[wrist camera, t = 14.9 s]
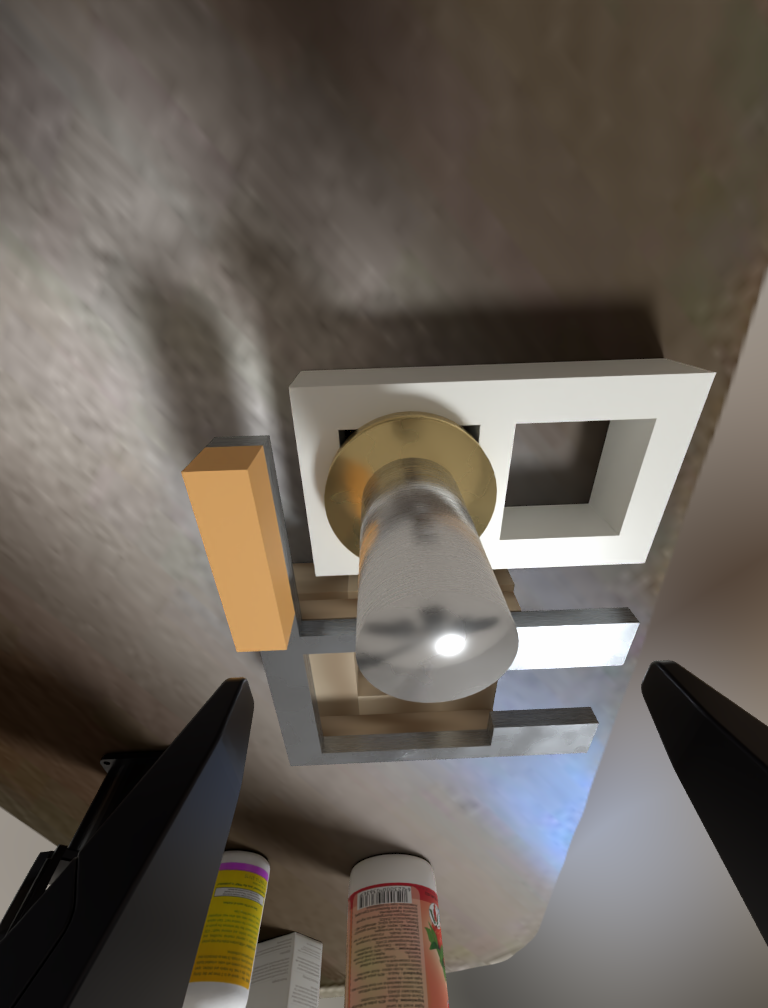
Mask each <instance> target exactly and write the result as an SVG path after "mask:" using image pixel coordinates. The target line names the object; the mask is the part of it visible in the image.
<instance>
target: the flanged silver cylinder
mask: <svg viewBox="0 0 768 1008" xmlns="http://www.w3.org/2000/svg"><path fill="white" fill-rule="evenodd" d="M496 500H497V484H496V478H495V474H494V470H493V468H492V465H491V463H490V461H489V459H488V457H487V456H486V454H485V453H484V451H483V449H482V448H481V446H480V445H479V443H478V442H477V441H476V439H475V438H474V437H473V436H472V435H471V434H470V433H469V432H468V431H467V430H465V429H464V428H463V427H462V426H460V425H459V424H457V423H455V422H454V421H452V420H450V419H447V418H445V417H443V416H439V415H436V414H433V413H427V412H419V411H406V412H397V413H392V414H388V415H384V416H382V417H379V418H376V419H374V420H372V421H370V422H368V423H366V424H364V425H363V426H362V427H360V428H359V429H357V430H356V431H355V432H354V433H352V434H351V435H350V436H349V437H348V438H347V439H346V440H345V442H344V443H343V444H342V445H341V446H340V448H339V449H338V451H337V453H336V454H335V456H334V458H333V461H332V463H331V465H330V469H329V473H328V477H327V481H326V486H325V494H324V502H325V510H326V516H327V519H328V521H329V524H330V526H331V528H332V530H333V532H334V534H335V535H336V537H337V538H338V539H339V541H340V542H341V543H342V544H343V545H344V546H345V547H346V548H347V549H348V550H349V551H350V552H352V553H353V554H354V555H356V556H357V557H359V577H358V601H357V625H356V661H357V664H358V667H359V669H360V671H361V673H362V674H363V676H364V677H365V678H366V679H367V681H368V682H370V683H371V684H372V685H373V686H374V687H376V688H377V689H379V690H380V691H382V692H384V693H386V694H388V695H390V696H393V697H396V698H399V699H403V700H407V701H413V702H422V703H436V702H446V701H452V700H456V699H460V698H464V697H467V696H470V695H473V694H475V693H477V692H479V691H481V690H483V689H485V688H487V687H489V686H490V685H491V684H493V683H494V682H496V681H497V680H498V679H499V678H500V677H502V676H503V675H504V674H505V672H506V671H507V670H508V669H509V668H510V666H511V665H512V663H513V661H514V659H515V657H516V655H517V651H518V646H519V635H518V631H517V627H516V625H515V622H514V620H513V618H512V615H511V613H510V610H509V608H508V606H507V603H506V601H505V598H504V596H503V593H502V591H501V589H500V586H499V584H498V581H497V579H496V577H495V574H494V572H493V569H492V567H491V565H490V562H489V560H488V557H487V555H486V552H485V550H484V548H483V545H482V543H481V540H480V538H479V537H480V536H481V535H482V534H483V532H484V531H485V529H486V528H487V526H488V524H489V522H490V520H491V518H492V515H493V512H494V510H495V505H496Z"/></svg>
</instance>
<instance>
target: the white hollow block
mask: <svg viewBox="0 0 768 1008" xmlns="http://www.w3.org/2000/svg"><path fill="white" fill-rule="evenodd" d="M715 374H716V372H712V371H709V370H705V369H701V368H698V367H694V366H691V365H687V364H683V363H680V362H676V361H673V360H669V359H666V358H658V359H629V360H601V361H572V362H543V363H514V364H485V365H456V366H428V367H399V368H370V369H341V370H312V371H300V373H299V374H298V375H297V377H296V378H295V379H294V381H293V382H292V383H291V385H290V386H289V387H288V389H289V395H290V402H291V409H292V416H293V423H294V430H295V437H296V443H297V450H298V457H299V464H300V471H301V478H302V485H303V491H304V498H305V505H306V512H307V519H308V526H309V533H310V540H311V546H312V553H313V560H314V567H315V574H316V576H336V575H359V557H357V556H356V555H354V554H353V553H352V552H350V551H349V550H348V549H347V548H346V547H345V546H344V545H343V544H342V543H341V542H340V541H339V539H338V538H337V537H336V535H335V534H334V532H333V530H332V528H331V526H330V524H329V521H328V519H327V516H326V510H325V502H324V494H325V486H326V481H327V477H328V473H329V469H330V465H331V463H332V461H333V458H334V456H335V454H336V453H337V451H338V449H339V448H340V446H341V445H342V444H343V443H344V442H345V430H351V429H359V428H360V427H362V426H363V425H364V424H366V423H368V422H370V421H372V420H374V419H376V418H379V417H382V416H384V415H388V414H392V413H397V412H406V411H419V412H427V413H433V414H436V415H439V416H443V417H445V418H447V419H450V420H452V421H454V422H455V423H457V424H459V425H460V426H461V425H463V428H464V429H465V430H467V431H468V432H469V433H470V434H471V435H472V436H473V437H474V438H475V439H476V441H477V442H478V443H479V445H480V446H481V448H482V449H483V451H484V453H485V454H486V456H487V457H488V459H489V461H490V463H491V465H492V468H493V470H494V474H495V478H496V484H497V500H496V505H495V510H494V512H493V515H492V518H491V520H490V522H489V524H488V526H487V528H486V529H485V531H484V532H483V534H482V535H481V536H480V537H479V538H480V540H481V543H482V545H483V548H484V550H485V552H486V555H487V557H488V560H489V562H490V565H491V567H492V569H509V568H534V567H559V566H584V565H609V564H633V563H645V560H646V558H647V555H648V552H649V550H650V547H651V544H652V542H653V539H654V536H655V534H656V531H657V528H658V526H659V523H660V520H661V518H662V515H663V512H664V510H665V507H666V504H667V502H668V499H669V496H670V494H671V491H672V489H673V486H674V483H675V481H676V478H677V475H678V473H679V470H680V467H681V465H682V462H683V459H684V457H685V454H686V451H687V449H688V446H689V443H690V441H691V438H692V435H693V433H694V430H695V427H696V425H697V422H698V419H699V417H700V414H701V411H702V409H703V406H704V403H705V401H706V398H707V395H708V393H709V390H710V387H711V385H712V382H713V379H714V377H715ZM599 420H610V424H609V428H608V432H607V435H606V439H605V443H604V447H603V451H602V454H601V458H600V462H599V466H598V470H597V473H596V477H595V481H594V485H593V489H592V492H591V496H590V500H589V504H566V505H540V506H514V507H504V504H505V497H506V490H507V483H508V476H509V469H510V462H511V455H512V448H513V441H514V433H515V426H516V423H544V422H571V421H599Z"/></svg>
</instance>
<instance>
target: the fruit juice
mask: <svg viewBox="0 0 768 1008" xmlns="http://www.w3.org/2000/svg"><path fill="white" fill-rule="evenodd" d="M344 1008H449V1002H448V993H447V983H446V974H445V964H444V955H443V946H442V936H441V927H440V917H439V908H438V899H437V889H436V881H435V876H434V872H433V869H432V866H431V865H430V864H429V863H428V862H427V861H426V860H424V859H422V858H419V857H416V856H412V855H405V854H386V855H379V856H374V857H371V858H368V859H365V860H363V861H361V862H359V863H358V864H356V865H355V866H354V867H353V869H352V871H351V875H350V880H349V893H348V920H347V948H346V976H345V1004H344Z"/></svg>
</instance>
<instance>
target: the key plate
mask: <svg viewBox="0 0 768 1008" xmlns="http://www.w3.org/2000/svg"><path fill="white" fill-rule="evenodd" d="M181 473H182V476H183V479H184V482H185V486H186V489H187V492H188V495H189V499H190V502H191V505H192V508H193V511H194V515H195V518H196V521H197V524H198V528H199V531H200V534H201V537H202V540H203V544H204V547H205V550H206V553H207V557H208V560H209V563H210V566H211V569H212V573H213V576H214V579H215V582H216V586H217V589H218V592H219V595H220V598H221V602H222V605H223V608H224V611H225V615H226V618H227V621H228V624H229V627H230V631H231V634H232V637H233V640H234V644H235V647H236V650H237V652H248V651H260V654H261V657H262V661H263V665H264V669H265V672H266V676H267V680H268V684H269V687H270V691H271V695H272V698H273V702H274V706H275V710H276V713H277V717H278V721H279V725H280V728H281V732H282V736H283V739H284V743H285V747H286V751H287V754H288V758H289V762H290V766H303V765H325V764H347V763H369V762H391V761H413V760H435V759H457V758H479V757H501V756H523V755H545V754H567V753H587V751H588V749H589V747H590V744H591V742H592V739H593V737H594V734H595V732H596V729H597V727H598V724H599V723H598V721H597V719H596V717H595V715H594V713H593V711H592V709H591V707H577V708H555V709H532V710H510V711H490V712H489V718H488V724H487V729H480V730H458V731H435V732H413V733H391V734H368V735H346V736H323V731H322V726H321V720H320V714H319V709H318V703H317V698H316V692H315V687H314V681H313V676H312V670H311V664H310V659H309V654H324V653H348V652H356V625H357V619H334V620H310V621H303V620H302V614H301V609H300V603H299V598H298V592H297V587H296V581H295V575H294V570H293V564H292V559H291V553H290V548H289V542H288V537H287V531H286V525H285V520H284V514H283V509H282V503H281V498H280V492H279V486H278V481H277V475H276V470H275V464H274V459H273V453H272V448H271V442H270V436H269V435H266V436H238V437H215V438H214V439H213V440H212V441H211V442H210V443H209V444H208V445H207V446H206V447H205V448H204V449H203V450H202V451H201V452H200V453H199V454H198V455H197V456H196V457H195V458H194V459H193V461H192V462H191V463H190V464H189V465H188V466H187V467H186V468H185V469H184V470H183V471H182V472H181ZM510 613H511V615H512V618H513V620H514V622H515V625H516V627H517V631H518V635H519V646H518V651H517V655H516V657H515V659H514V661H513V663H512V665H511V666H510V668H509V669H508V670H520V669H543V668H566V667H590V666H613V665H623V663H624V660H625V658H626V656H627V653H628V651H629V648H630V646H631V643H632V641H633V638H634V636H635V633H636V631H637V629H638V626H639V624H640V622H639V621H638V620H637V618H636V617H635V616H634V614H633V613H632V612H631V611H630V609H629V608H628V607H623V608H599V609H575V610H551V611H527V612H510Z"/></svg>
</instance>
